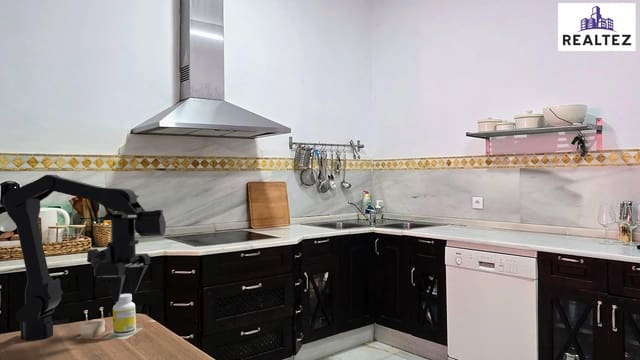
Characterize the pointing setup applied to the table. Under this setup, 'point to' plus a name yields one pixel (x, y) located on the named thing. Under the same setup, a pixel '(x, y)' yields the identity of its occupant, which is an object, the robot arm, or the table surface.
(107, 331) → the sorting board
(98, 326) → the beech block
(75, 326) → the table surface
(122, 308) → the supplement bottle
